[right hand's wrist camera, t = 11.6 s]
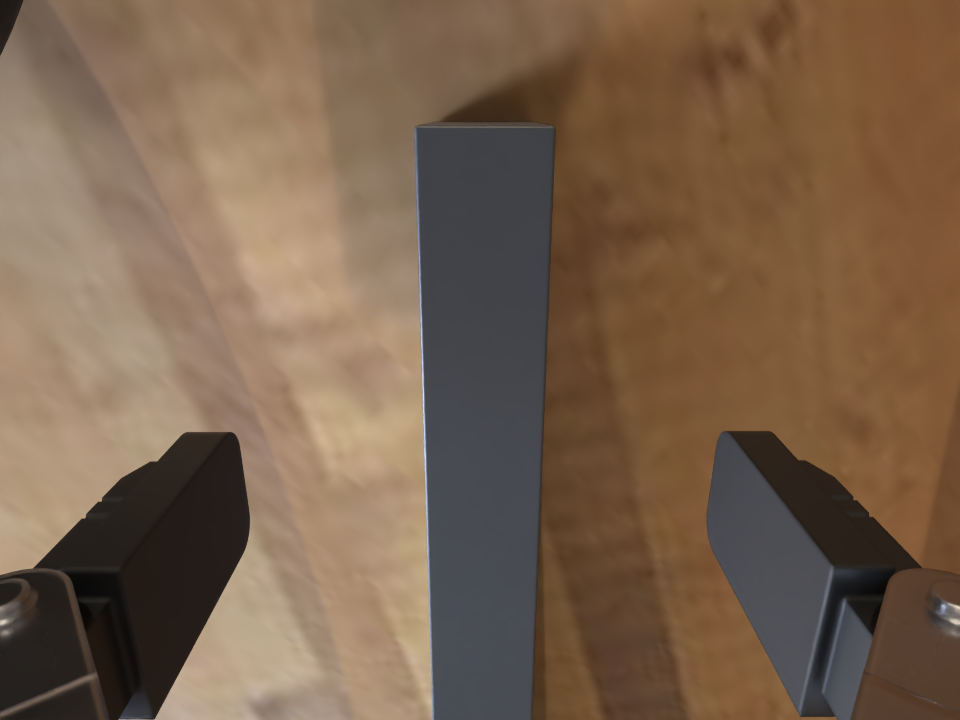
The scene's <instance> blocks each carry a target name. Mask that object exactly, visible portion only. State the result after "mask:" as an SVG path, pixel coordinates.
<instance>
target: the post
mask: <svg viewBox="0 0 960 720" xmlns="http://www.w3.org/2000/svg"><path fill="white" fill-rule="evenodd" d="M555 133H556V129H555V127H554V126H551V125H546V124H540V123H535V122H432V123H427V124H422V125H417V126H415V128H414V136H415V168H416V201H417V233H418V265H419V298H420V330H421V362H422V395H423V427H424V459H425V492H426V524H427V556H428V589H429V621H430V654H431V686H432V718H433V720H532V708H533V683H534V658H535V633H536V608H537V583H538V558H539V533H540V508H541V483H542V458H543V433H544V408H545V383H546V358H547V333H548V308H549V283H550V258H551V233H552V208H553V183H554V158H555Z"/></svg>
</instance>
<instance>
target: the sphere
mask: <svg viewBox="0 0 960 720" xmlns="http://www.w3.org/2000/svg"><path fill="white" fill-rule="evenodd" d="M22 3H23V0H0V55H1V53H2V51H3V49H4V46H5V44H6V42H7V40H8V38H9V36H10V33H11V31H12V29H13V26H14V24H15V21H16V18H17V16H18V13H19V10H20V8H21V5H22Z"/></svg>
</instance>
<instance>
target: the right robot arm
mask: <svg viewBox="0 0 960 720" xmlns="http://www.w3.org/2000/svg"><path fill="white" fill-rule="evenodd" d="M249 528H250V514H249V506H248V499H247V492H246V486H245V479H244V472H243V465H242V458H241V451H240V445H239V441H238V439H237V437H236V435H235V434H234V433H232V432H186V433H184V434H183V435H181V436H180V438H179V439H178V440H177V441H176V442H175V443H174V444H173V445H172V446H171V447H170V448H169V449H168V451H167V452H166V453H165V454H164V455H163V456H162V457H161V458H160V459H159V460H158V461H157V462H149V463H147V464H145V465H144V466H142V467H140V468H138V469H137V470H135V471H133V472H131V473H130V474H128V475H126V476H124V477H123V478H121V479H120V480H119V481H118V482H117V483H116V484H115V485H114V486H113V487H112V488H111V489H110V490H109V491H108V492H107V493H106V494H105V495H104V497H103V498H102V502H98V503H97V504H96V505H95V506H94V507H93V508H92V509H91V510H90V511H89V512H88V513H87V514H86V519H81V520H80V521H79V522H78V523H77V524H76V525H75V526H74V527H73V528H72V529H71V530H70V531H69V532H68V533H67V534H66V535H65V536H64V537H63V538H62V539H61V540H60V542H59V543H58V544H57V545H56V546H55V547H54V548H53V549H52V550H51V551H50V552H49V553H48V554H47V555H46V556H45V557H44V558H43V559H42V560H41V561H40V562H39V563H38V564H37V565H36V566H35V567H34V568H33V569H25V570H19V571H15V572H10V573H7V574H3V575H0V720H119V719H155V717H156V716H157V714H158V712H159V710H160V708H161V706H162V704H163V702H164V701H165V699H166V697H167V695H168V693H169V691H170V689H171V688H172V686H173V684H174V682H175V680H176V678H177V676H178V674H179V673H180V671H181V669H182V667H183V665H184V663H185V661H186V659H187V658H188V656H189V654H190V652H191V650H192V648H193V646H194V645H195V643H196V641H197V639H198V637H199V635H200V633H201V631H202V630H203V628H204V626H205V624H206V622H207V620H208V618H209V617H210V615H211V613H212V611H213V609H214V607H215V605H216V603H217V602H218V600H219V598H220V596H221V594H222V592H223V590H224V589H225V587H226V585H227V583H228V581H229V579H230V577H231V575H232V574H233V572H234V570H235V568H236V566H237V564H238V562H239V561H240V559H241V557H242V555H243V553H244V551H245V548H246V545H247V541H248V537H249ZM707 532H708V538H709V542H710V546H711V548H712V551H713V553H714V555H715V557H716V559H717V560H718V562H719V564H720V566H721V568H722V570H723V572H724V574H725V576H726V577H727V579H728V581H729V583H730V585H731V587H732V589H733V591H734V593H735V594H736V596H737V598H738V600H739V602H740V604H741V606H742V608H743V610H744V611H745V613H746V615H747V617H748V619H749V621H750V623H751V625H752V627H753V628H754V630H755V632H756V634H757V636H758V638H759V640H760V642H761V644H762V645H763V647H764V649H765V651H766V653H767V655H768V657H769V659H770V661H771V662H772V664H773V666H774V668H775V670H776V672H777V674H778V676H779V678H780V679H781V681H782V683H783V685H784V687H785V689H786V691H787V693H788V695H789V696H790V698H791V700H792V702H793V704H794V706H795V708H796V710H797V712H798V713H799V715H800V717H836V718H837V720H960V575H957V574H953V573H950V572H945V571H941V570H935V569H926V568H922V567H921V566H920V565H919V564H918V563H917V562H916V561H915V560H914V559H913V558H912V557H911V556H910V555H909V554H908V553H907V552H906V551H905V550H904V549H903V547H902V546H901V545H900V544H899V543H898V542H897V541H896V540H895V539H894V538H893V537H892V536H891V535H890V534H889V533H888V532H887V531H886V530H885V529H884V528H883V527H882V526H881V525H880V524H879V523H878V522H877V521H876V520H875V519H874V518H873V517H869V512H868V511H867V510H866V509H865V508H864V507H863V506H862V505H861V504H860V503H859V502H858V501H857V500H853V496H852V495H851V494H850V493H849V492H848V491H847V490H846V489H845V488H844V487H843V486H842V485H841V484H840V482H839V481H838V480H837V479H836V478H835V477H833V476H832V475H830V474H828V473H826V472H825V471H823V470H821V469H819V468H818V467H816V466H814V465H812V464H811V463H809V462H807V461H805V460H797V458H796V457H795V456H794V455H793V454H792V453H791V452H790V451H789V450H788V449H787V448H786V446H785V445H784V444H783V443H782V442H781V441H780V440H779V439H778V438H777V437H776V435H775V434H773V433H772V432H770V431H724V432H722V433H721V435H720V436H719V438H718V441H717V446H716V452H715V459H714V466H713V473H712V481H711V488H710V495H709V502H708V509H707Z"/></svg>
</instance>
